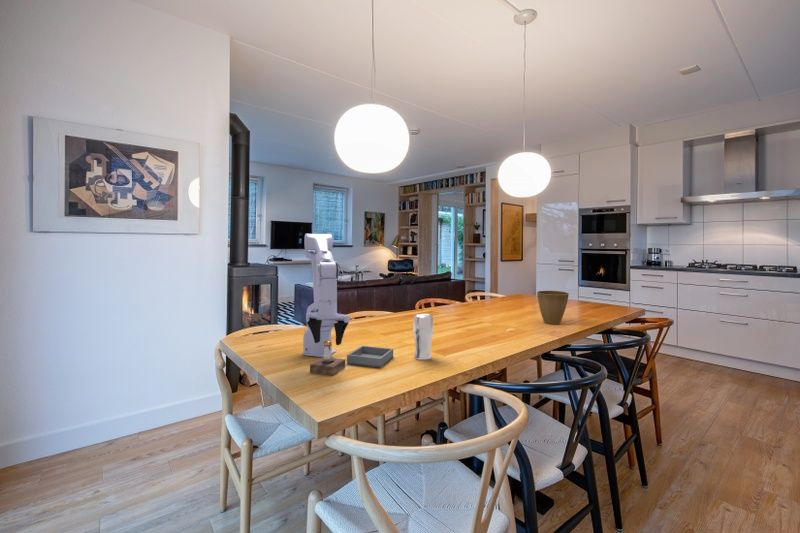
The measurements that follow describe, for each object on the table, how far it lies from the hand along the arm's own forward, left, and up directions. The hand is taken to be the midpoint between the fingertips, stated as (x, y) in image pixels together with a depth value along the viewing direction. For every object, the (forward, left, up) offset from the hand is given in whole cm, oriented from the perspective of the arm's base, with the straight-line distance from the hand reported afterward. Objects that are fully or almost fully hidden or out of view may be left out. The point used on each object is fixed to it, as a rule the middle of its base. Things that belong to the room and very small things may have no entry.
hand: (327, 343), depth 113 cm
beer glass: (+25, +22, -9) cm, 34 cm away
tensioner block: (0, 0, -8) cm, 8 cm away
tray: (+9, +13, -8) cm, 18 cm away
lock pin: (0, 0, -8) cm, 8 cm away
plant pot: (+72, +100, -9) cm, 124 cm away
